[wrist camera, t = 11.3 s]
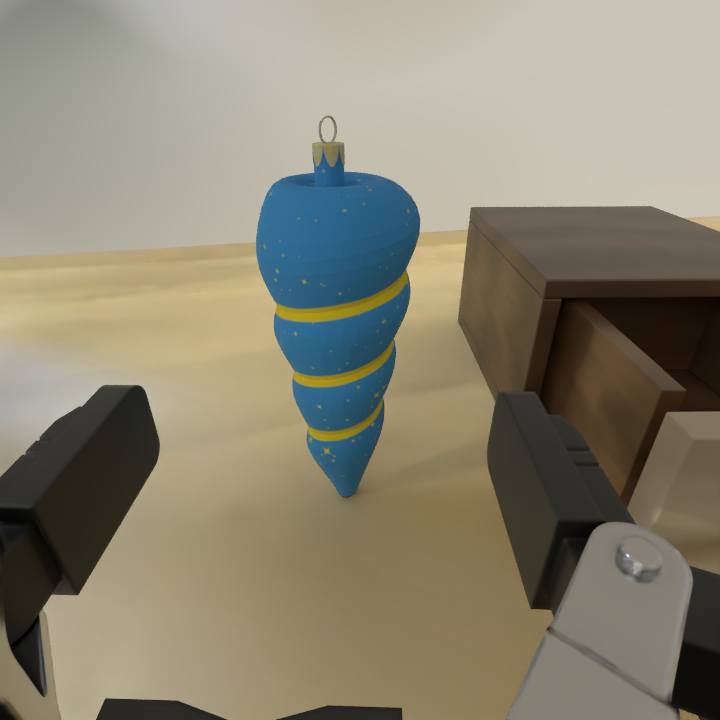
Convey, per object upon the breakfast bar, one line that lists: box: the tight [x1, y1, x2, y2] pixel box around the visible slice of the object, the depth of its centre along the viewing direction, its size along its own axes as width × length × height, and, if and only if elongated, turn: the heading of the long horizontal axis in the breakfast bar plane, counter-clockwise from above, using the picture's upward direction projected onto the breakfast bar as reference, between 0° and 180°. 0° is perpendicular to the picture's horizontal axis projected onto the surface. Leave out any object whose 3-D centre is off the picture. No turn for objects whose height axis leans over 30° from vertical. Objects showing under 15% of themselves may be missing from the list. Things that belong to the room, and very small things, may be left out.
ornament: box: [256, 116, 420, 497], centre depth 17 cm, size 5×5×15 cm
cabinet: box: [458, 206, 720, 401], centre depth 28 cm, size 15×13×9 cm
